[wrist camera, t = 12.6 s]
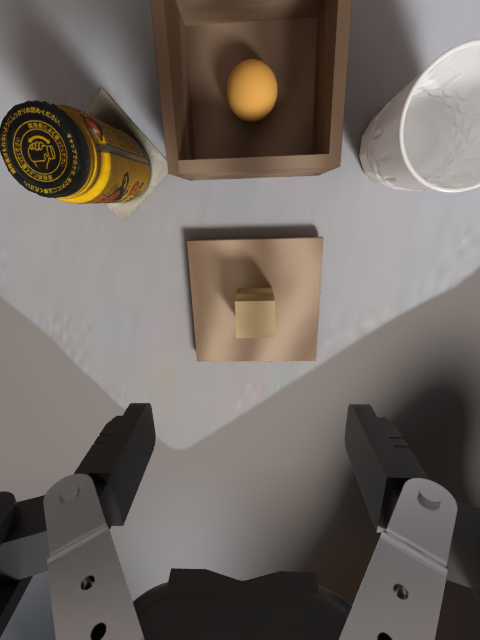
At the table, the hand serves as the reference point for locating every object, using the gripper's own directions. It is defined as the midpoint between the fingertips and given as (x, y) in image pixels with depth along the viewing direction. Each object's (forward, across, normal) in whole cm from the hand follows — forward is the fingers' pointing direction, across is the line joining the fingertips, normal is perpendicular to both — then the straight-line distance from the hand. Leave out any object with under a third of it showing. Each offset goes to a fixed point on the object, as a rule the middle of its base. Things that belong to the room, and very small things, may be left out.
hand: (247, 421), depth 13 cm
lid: (+21, 0, +2) cm, 21 cm away
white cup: (+22, -13, -12) cm, 28 cm away
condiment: (+22, +13, -12) cm, 28 cm away
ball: (+21, 0, -16) cm, 27 cm away
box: (+22, 0, -16) cm, 27 cm away
